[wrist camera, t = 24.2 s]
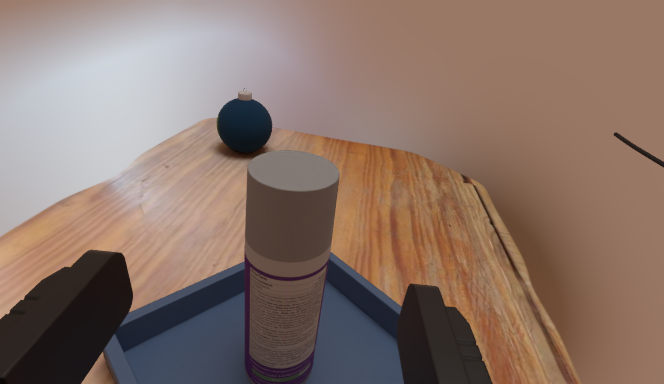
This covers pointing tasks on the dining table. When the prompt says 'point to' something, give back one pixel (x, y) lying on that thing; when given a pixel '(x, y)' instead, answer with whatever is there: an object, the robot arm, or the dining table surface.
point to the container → (286, 262)
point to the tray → (229, 334)
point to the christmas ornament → (244, 124)
